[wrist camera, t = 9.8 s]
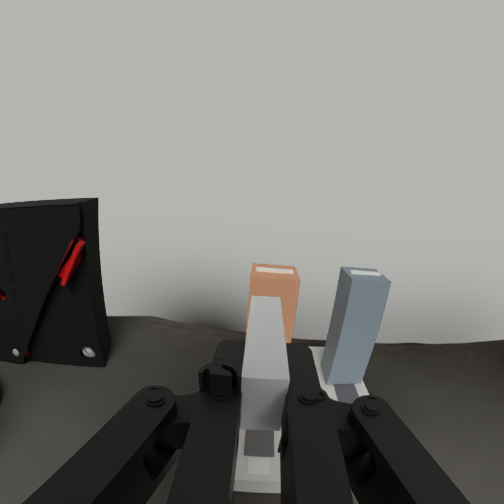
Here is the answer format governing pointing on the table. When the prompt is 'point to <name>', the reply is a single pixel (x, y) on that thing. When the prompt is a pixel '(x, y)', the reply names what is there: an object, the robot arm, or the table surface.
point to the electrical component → (52, 283)
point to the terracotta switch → (276, 290)
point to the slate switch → (354, 324)
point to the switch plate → (267, 442)
